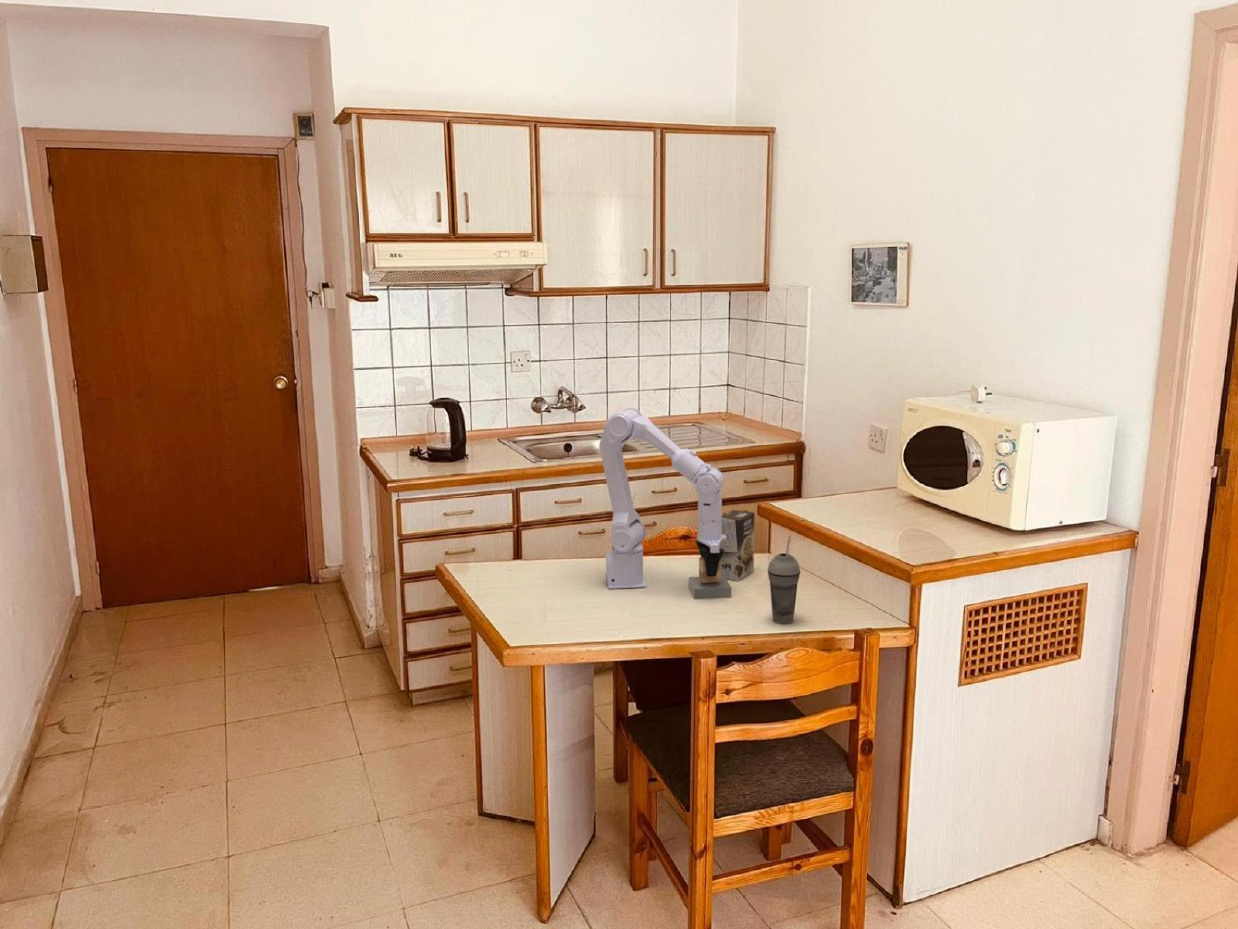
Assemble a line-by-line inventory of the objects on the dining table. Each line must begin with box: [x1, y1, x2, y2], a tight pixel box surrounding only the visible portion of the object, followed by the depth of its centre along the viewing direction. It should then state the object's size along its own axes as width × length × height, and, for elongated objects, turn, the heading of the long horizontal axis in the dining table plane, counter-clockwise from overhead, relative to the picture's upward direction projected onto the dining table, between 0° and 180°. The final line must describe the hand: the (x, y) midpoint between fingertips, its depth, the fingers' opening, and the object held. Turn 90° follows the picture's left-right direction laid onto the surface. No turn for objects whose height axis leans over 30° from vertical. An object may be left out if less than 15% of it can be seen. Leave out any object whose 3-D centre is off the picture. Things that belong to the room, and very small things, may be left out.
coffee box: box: [719, 509, 755, 582], centre depth 248 cm, size 9×6×16 cm
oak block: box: [698, 556, 721, 583], centre depth 237 cm, size 4×4×5 cm
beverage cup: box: [767, 535, 801, 625], centre depth 216 cm, size 7×7×20 cm
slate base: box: [688, 576, 732, 600], centre depth 238 cm, size 9×9×2 cm
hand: (709, 572), depth 237 cm, fingers closed on oak block, 4 cm apart
